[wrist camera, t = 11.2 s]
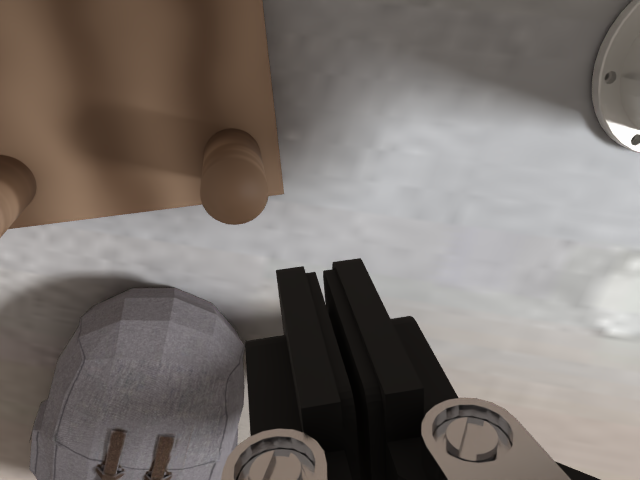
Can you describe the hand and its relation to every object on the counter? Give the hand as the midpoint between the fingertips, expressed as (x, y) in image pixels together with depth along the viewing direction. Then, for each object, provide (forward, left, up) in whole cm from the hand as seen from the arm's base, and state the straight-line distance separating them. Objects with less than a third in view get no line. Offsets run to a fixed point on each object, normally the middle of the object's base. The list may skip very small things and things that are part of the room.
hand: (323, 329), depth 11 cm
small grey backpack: (+11, +23, -30) cm, 39 cm away
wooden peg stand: (+9, -3, -29) cm, 31 cm away
